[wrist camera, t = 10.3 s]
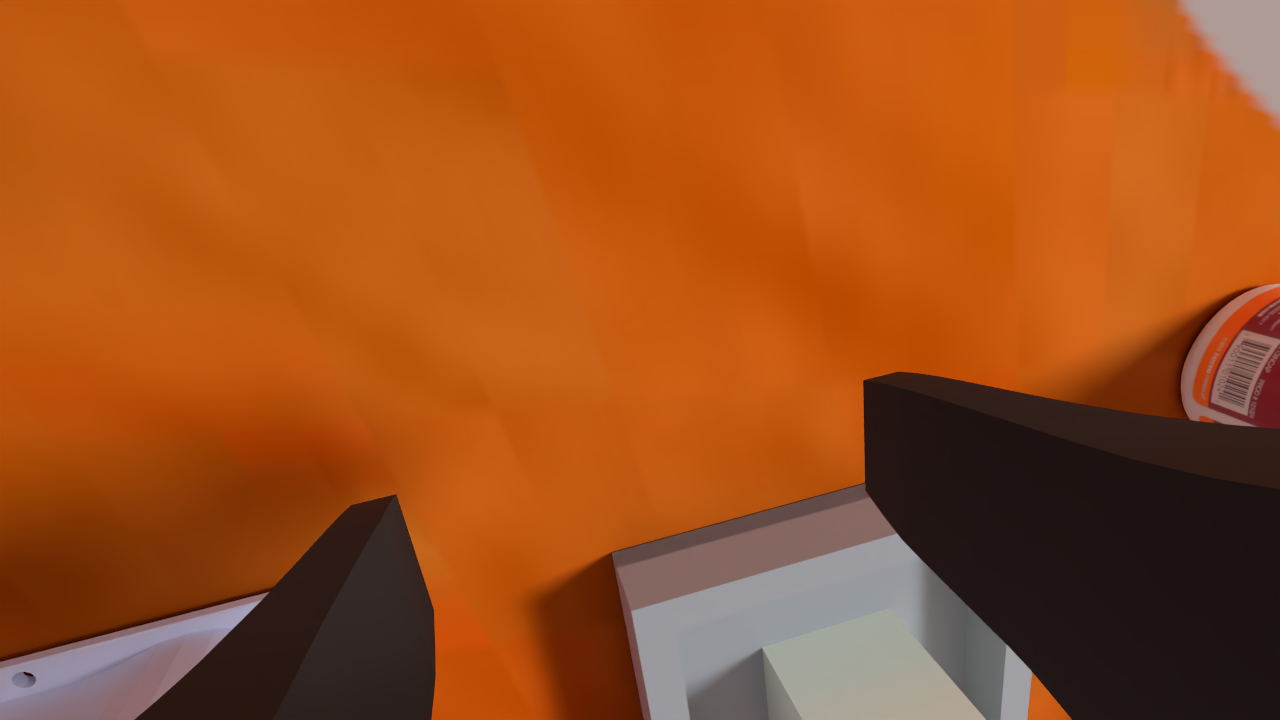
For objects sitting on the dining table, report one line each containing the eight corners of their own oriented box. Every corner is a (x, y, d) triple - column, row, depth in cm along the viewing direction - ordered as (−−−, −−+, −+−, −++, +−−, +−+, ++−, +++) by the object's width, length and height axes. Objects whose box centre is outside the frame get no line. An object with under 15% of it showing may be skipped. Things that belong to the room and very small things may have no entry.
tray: (672, 868, 27) (693, 945, 25) (611, 552, 22) (631, 611, 19) (969, 759, 30) (1016, 819, 27) (988, 449, 24) (1050, 489, 21)
